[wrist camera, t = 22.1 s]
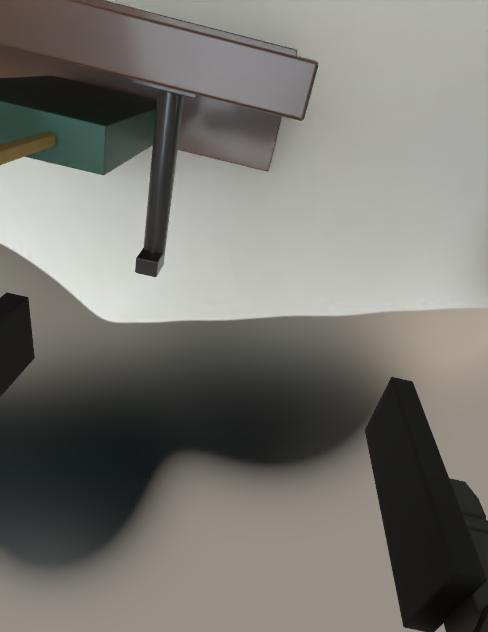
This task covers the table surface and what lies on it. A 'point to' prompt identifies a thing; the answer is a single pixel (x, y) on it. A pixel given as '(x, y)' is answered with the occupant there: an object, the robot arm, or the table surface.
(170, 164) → the hook rack
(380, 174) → the table surface
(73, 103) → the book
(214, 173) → the table surface
